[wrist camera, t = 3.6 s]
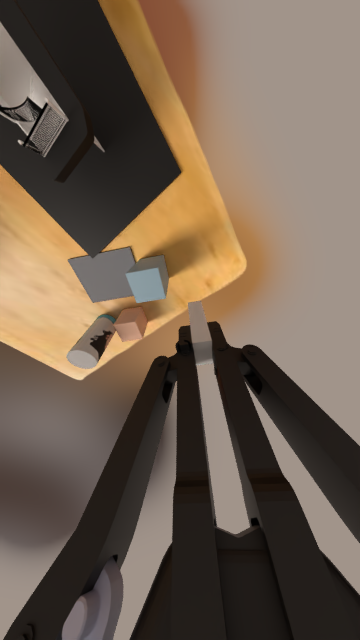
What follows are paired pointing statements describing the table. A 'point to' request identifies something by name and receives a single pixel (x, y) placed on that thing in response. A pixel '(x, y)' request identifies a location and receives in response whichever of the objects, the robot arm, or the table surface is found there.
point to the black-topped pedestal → (77, 120)
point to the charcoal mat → (105, 274)
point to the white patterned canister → (92, 343)
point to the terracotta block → (131, 324)
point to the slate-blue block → (149, 279)
